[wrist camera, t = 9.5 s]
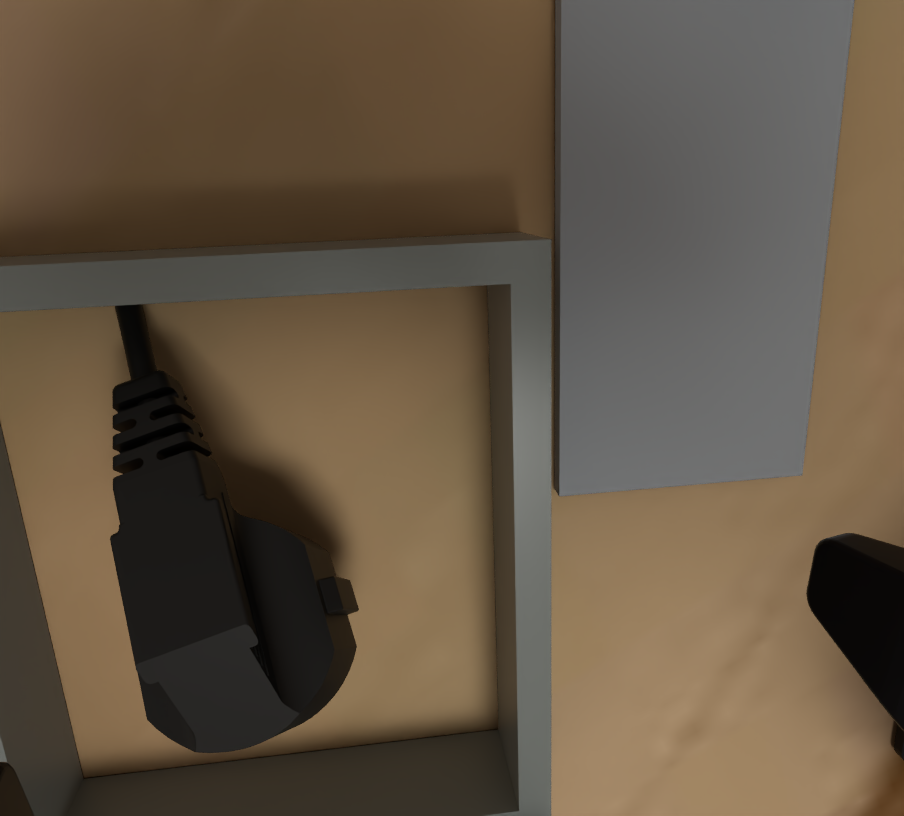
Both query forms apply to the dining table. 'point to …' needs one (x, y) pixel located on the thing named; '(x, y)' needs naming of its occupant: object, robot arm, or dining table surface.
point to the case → (514, 524)
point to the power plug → (213, 580)
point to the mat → (691, 235)
